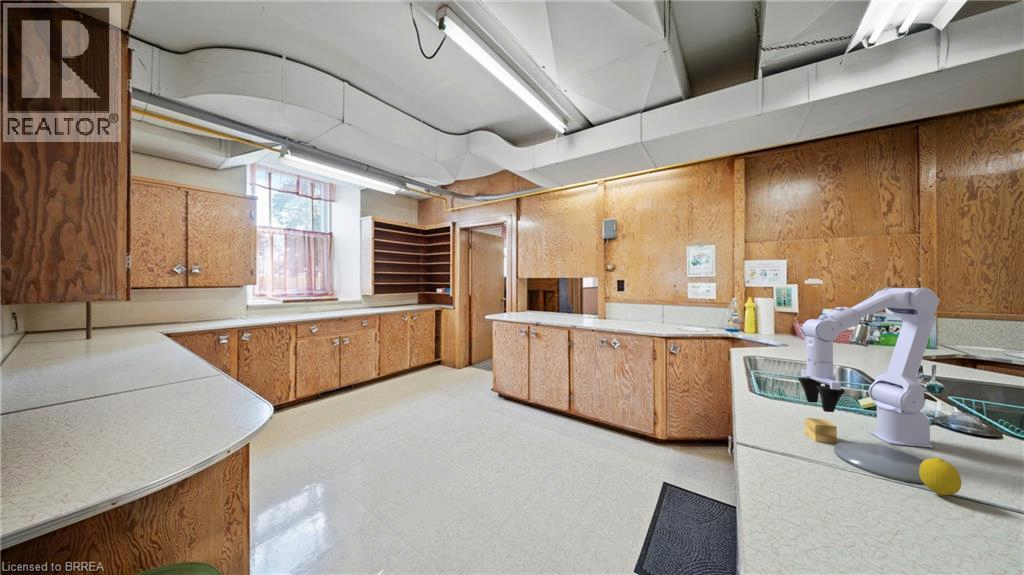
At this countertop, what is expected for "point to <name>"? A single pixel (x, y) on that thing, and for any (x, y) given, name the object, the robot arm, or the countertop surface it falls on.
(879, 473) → the plate
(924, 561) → the countertop surface
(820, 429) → the cube
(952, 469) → the lemon
